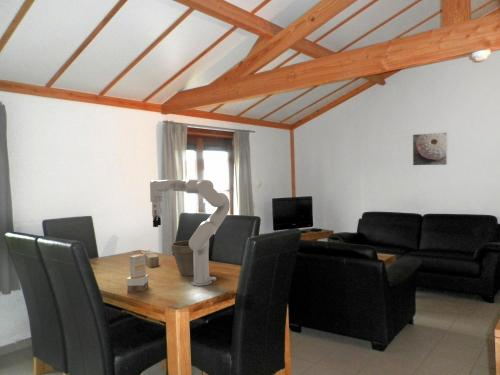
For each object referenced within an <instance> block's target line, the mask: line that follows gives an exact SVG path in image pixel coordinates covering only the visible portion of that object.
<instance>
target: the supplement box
mask: <svg viewBox="0 0 500 375" xmlns="http://www.w3.org/2000/svg"><path fill="white" fill-rule="evenodd" d="M128 259H129V274H130V275H129V277H131V278H134V279H135V278H139V277H143V276H146V275H147V273H146V272H147V270H146V269H147V268H146V266H147V265H146V264H145V255H143V254H140V253H139V254H134V255H133V254H132V255H130V256H129V258H128Z"/></svg>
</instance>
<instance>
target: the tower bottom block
mask: <svg viewBox="0 0 500 375" xmlns="http://www.w3.org/2000/svg"><path fill="white" fill-rule="evenodd" d="M126 286H127V285H126ZM148 287H149V281H148V282H147V283H146V284H144V285H139V286H127V292H129V293H130V292H146V290H147V289H148Z"/></svg>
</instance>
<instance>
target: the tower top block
mask: <svg viewBox="0 0 500 375" xmlns="http://www.w3.org/2000/svg"><path fill="white" fill-rule="evenodd" d="M147 282H148V283H149V274H146V276H143V277H139V278H135V279H134V278H131V277H130V276H129V277H127V278H126V286H139V285H144V284H146V283H147Z"/></svg>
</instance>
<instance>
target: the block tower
mask: <svg viewBox="0 0 500 375" xmlns="http://www.w3.org/2000/svg"><path fill="white" fill-rule="evenodd" d="M139 252H140V253H139V254H143V255H145V265H146V266H148V268H153V267H159V265H160V260H159V255H158V254H156V253H154V252H153V251H151V250H143V251H142V250H141V251H139Z"/></svg>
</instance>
